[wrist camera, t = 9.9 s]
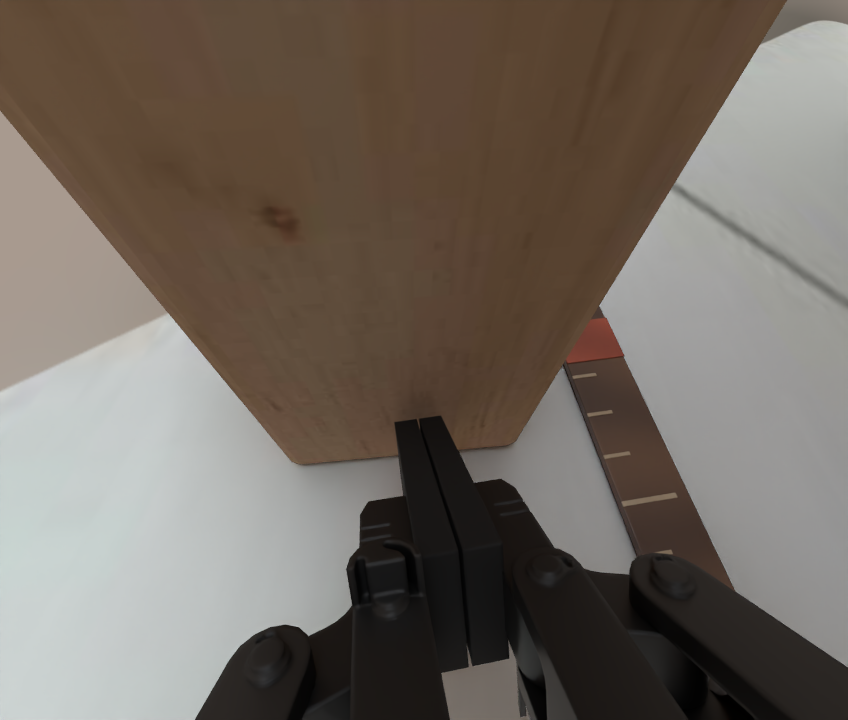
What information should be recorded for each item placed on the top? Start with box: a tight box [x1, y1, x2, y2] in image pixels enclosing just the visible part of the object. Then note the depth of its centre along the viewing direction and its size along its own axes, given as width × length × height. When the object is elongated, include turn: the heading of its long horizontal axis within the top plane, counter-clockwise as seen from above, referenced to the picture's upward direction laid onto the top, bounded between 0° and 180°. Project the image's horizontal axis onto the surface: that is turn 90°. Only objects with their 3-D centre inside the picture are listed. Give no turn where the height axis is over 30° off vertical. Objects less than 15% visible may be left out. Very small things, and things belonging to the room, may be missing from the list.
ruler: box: [563, 307, 735, 591], centre depth 19 cm, size 20×3×1 cm, turn 9°
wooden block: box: [0, 0, 787, 464], centre depth 12 cm, size 10×10×20 cm
